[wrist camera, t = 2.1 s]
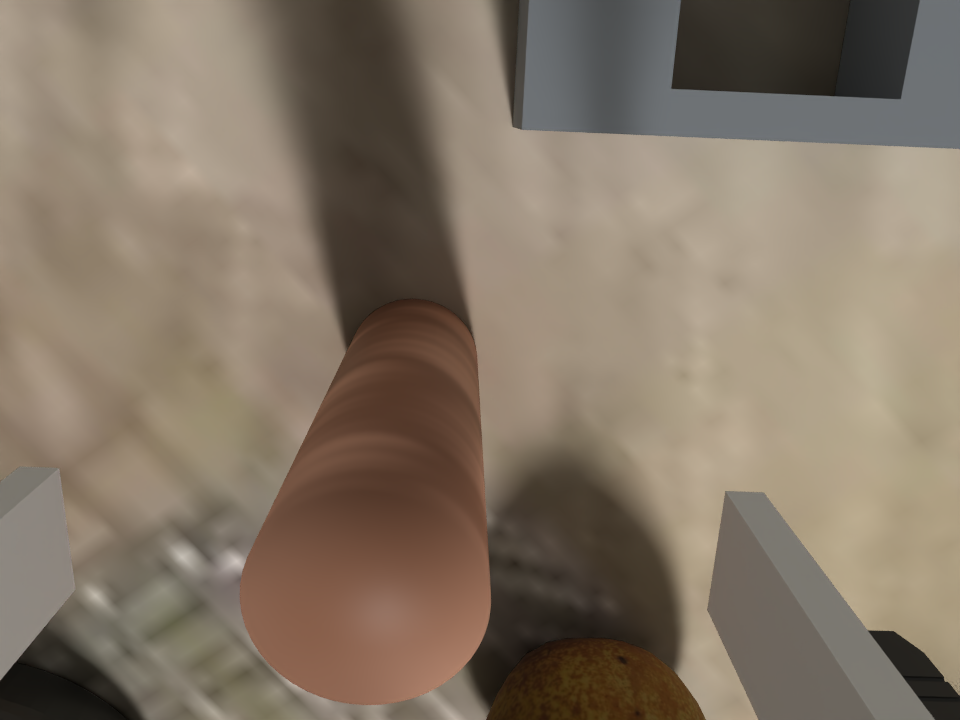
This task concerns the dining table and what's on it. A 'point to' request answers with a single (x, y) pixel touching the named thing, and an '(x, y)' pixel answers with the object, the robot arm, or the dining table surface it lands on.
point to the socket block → (737, 115)
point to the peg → (380, 521)
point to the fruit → (593, 685)
